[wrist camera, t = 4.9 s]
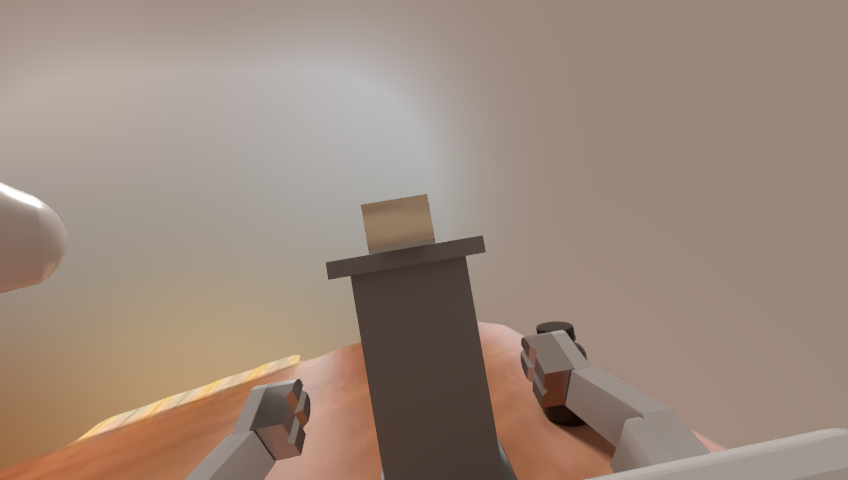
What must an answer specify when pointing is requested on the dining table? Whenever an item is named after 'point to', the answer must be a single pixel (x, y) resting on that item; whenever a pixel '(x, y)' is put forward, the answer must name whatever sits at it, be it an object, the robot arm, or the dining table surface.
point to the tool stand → (425, 363)
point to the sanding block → (398, 224)
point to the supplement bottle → (561, 411)
